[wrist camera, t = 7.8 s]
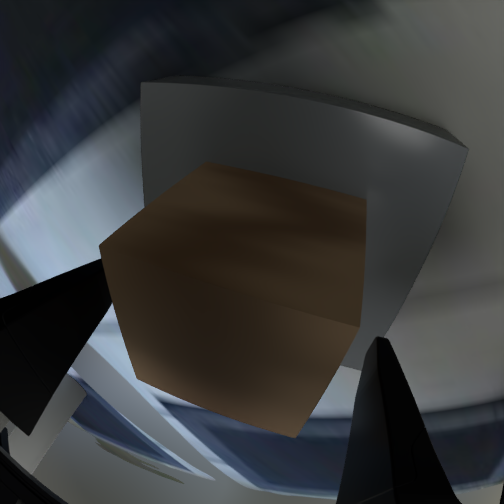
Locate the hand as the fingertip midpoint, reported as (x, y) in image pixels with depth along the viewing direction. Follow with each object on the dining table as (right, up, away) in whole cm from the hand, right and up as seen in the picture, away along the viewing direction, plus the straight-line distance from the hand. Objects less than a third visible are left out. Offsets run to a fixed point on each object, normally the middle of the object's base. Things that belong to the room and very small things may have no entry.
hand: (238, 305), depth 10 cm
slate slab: (+2, +3, +5) cm, 7 cm away
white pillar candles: (-33, -22, +37) cm, 55 cm away
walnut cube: (+1, +2, +3) cm, 4 cm away
